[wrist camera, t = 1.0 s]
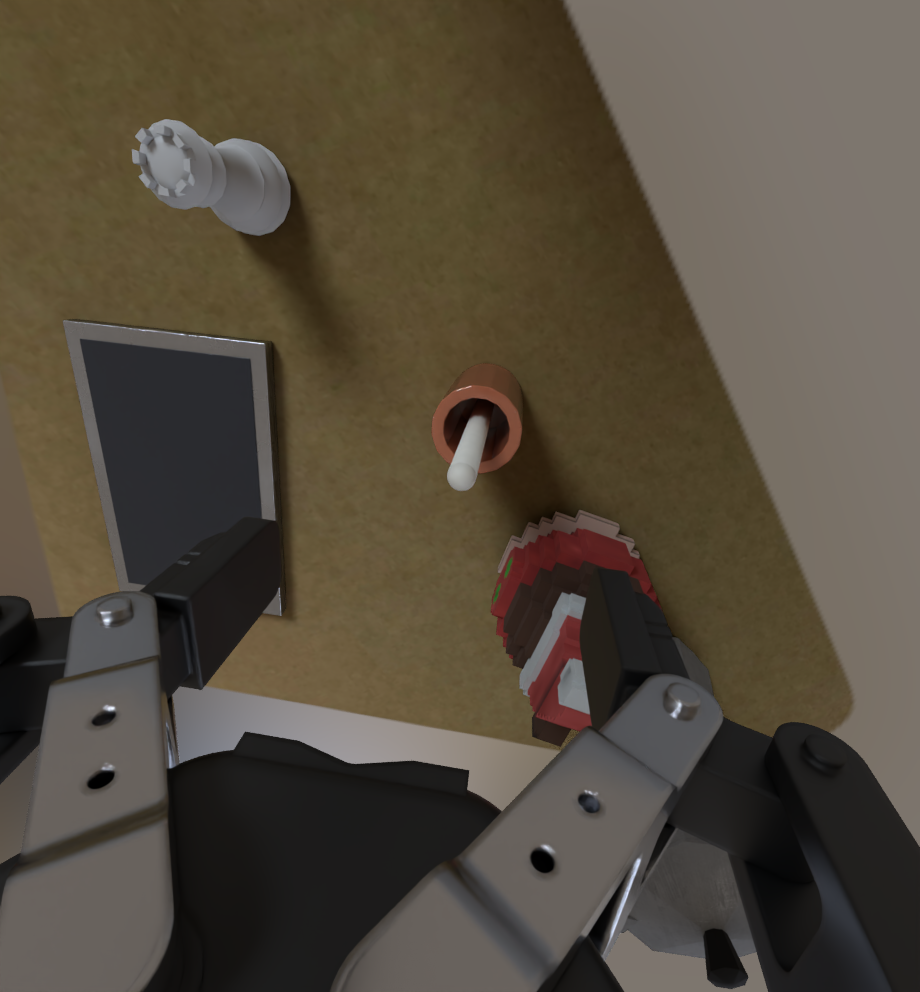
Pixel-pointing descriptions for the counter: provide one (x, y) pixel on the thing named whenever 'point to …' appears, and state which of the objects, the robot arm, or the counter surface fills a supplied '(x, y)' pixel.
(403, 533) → the counter surface
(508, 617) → the cake
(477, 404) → the stylus
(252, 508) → the tablet
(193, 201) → the rook chess piece
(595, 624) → the robot arm
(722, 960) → the coffeepot
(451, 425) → the pen cup
